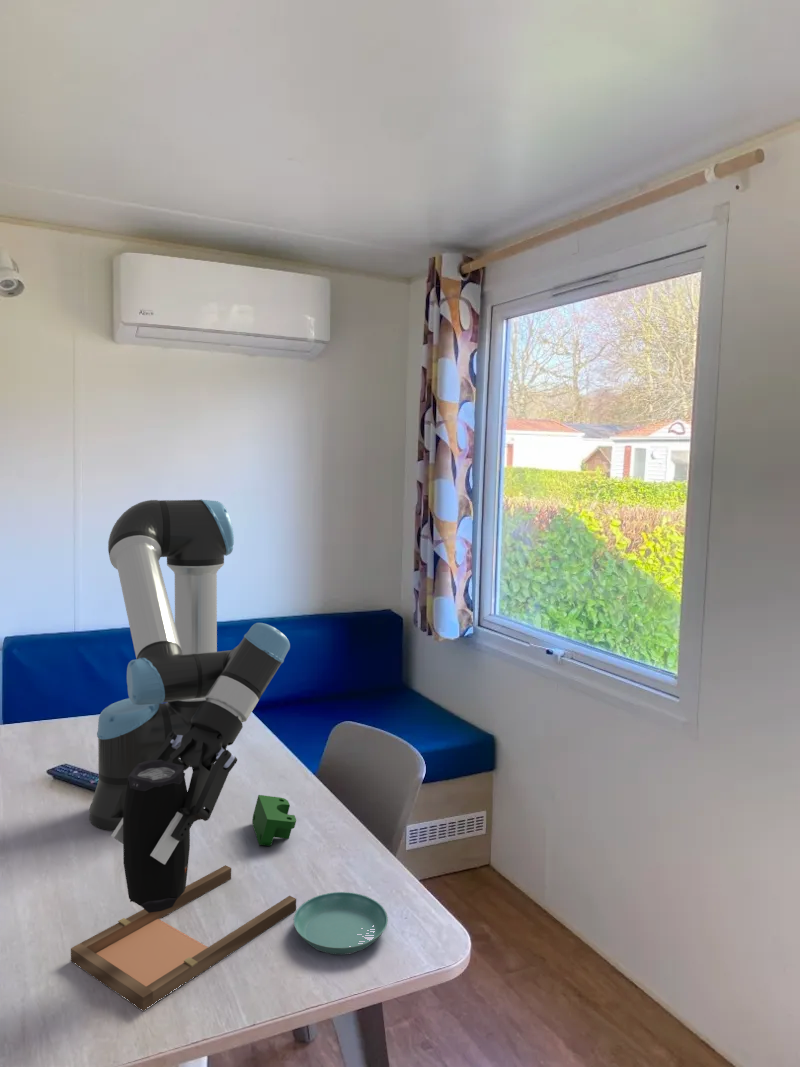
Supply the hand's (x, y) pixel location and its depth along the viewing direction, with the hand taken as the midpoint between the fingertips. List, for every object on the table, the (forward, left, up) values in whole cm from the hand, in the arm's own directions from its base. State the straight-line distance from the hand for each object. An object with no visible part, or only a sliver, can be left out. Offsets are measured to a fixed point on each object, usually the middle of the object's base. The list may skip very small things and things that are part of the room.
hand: (137, 849), depth 110 cm
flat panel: (0, +4, -18) cm, 18 cm away
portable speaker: (0, +3, -9) cm, 10 cm away
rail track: (0, +11, -18) cm, 21 cm away
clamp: (-13, +41, -18) cm, 47 cm away
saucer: (+18, +25, -18) cm, 35 cm away
